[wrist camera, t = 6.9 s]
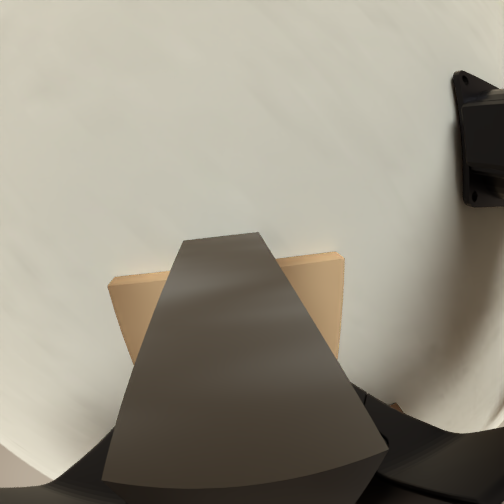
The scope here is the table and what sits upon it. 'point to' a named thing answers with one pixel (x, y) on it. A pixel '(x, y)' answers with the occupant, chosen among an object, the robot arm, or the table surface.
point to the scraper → (238, 382)
